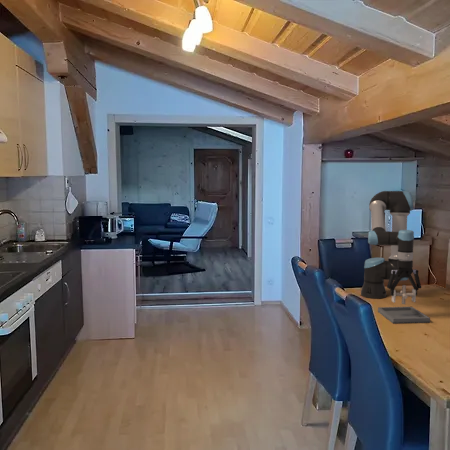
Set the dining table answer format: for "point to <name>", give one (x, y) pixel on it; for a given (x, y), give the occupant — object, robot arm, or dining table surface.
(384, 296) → the robot arm
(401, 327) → the dining table surface
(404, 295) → the pipe connector
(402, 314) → the tray
